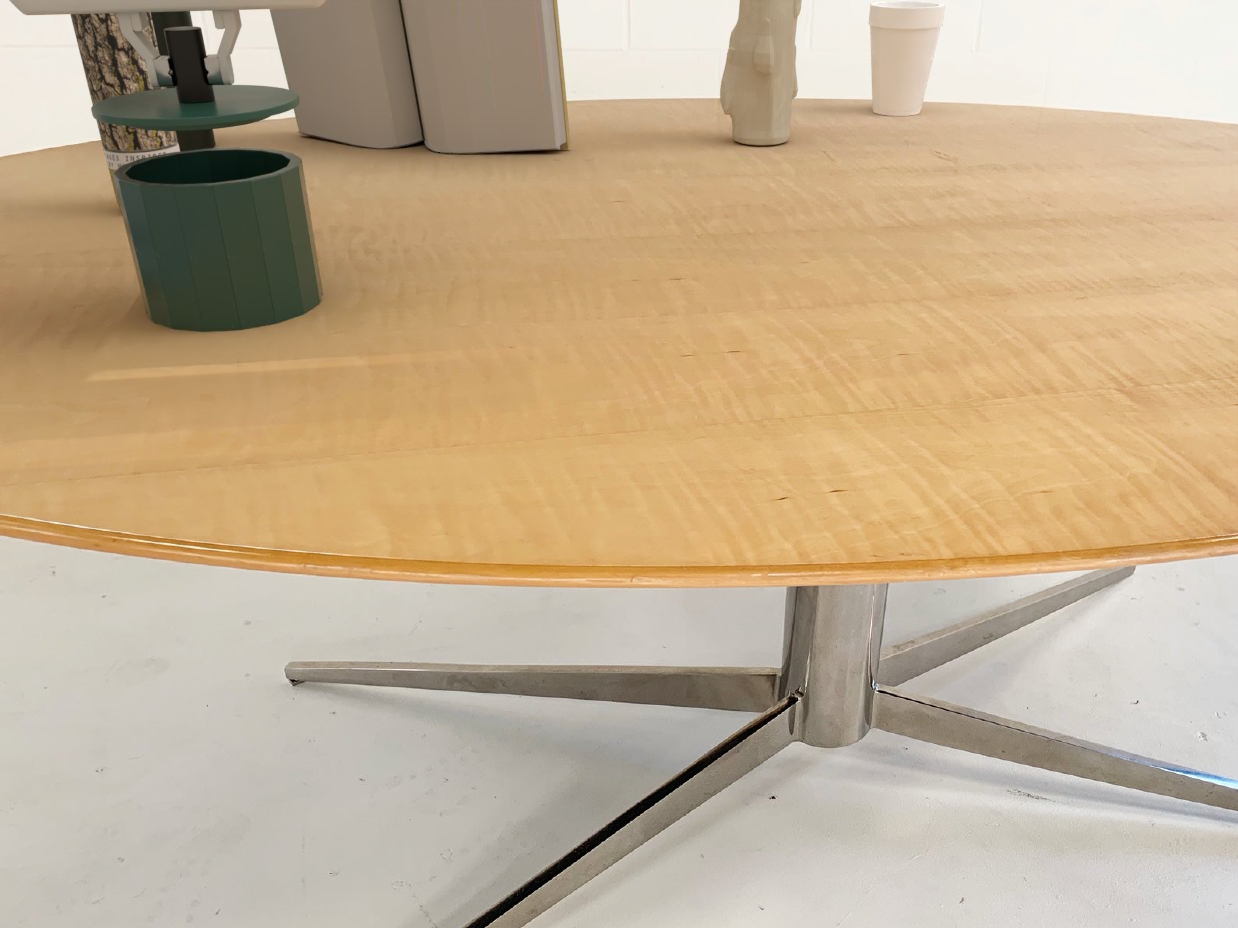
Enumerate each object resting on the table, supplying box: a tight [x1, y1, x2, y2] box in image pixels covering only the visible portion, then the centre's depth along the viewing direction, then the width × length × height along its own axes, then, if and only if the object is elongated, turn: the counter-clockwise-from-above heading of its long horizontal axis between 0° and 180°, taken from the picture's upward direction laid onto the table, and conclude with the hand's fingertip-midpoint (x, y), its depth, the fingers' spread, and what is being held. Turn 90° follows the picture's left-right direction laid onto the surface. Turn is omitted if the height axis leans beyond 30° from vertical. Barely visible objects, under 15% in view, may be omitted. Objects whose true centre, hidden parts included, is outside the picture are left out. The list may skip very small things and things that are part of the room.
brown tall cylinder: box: [69, 12, 180, 209], centre depth 107 cm, size 7×7×25 cm
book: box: [269, 0, 572, 155], centre depth 132 cm, size 36×8×24 cm, turn 71°
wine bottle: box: [151, 11, 217, 151], centre depth 131 cm, size 6×6×30 cm
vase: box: [719, 0, 803, 147], centre depth 132 cm, size 9×8×30 cm
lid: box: [90, 25, 299, 131], centre depth 78 cm, size 14×14×6 cm
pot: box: [113, 146, 324, 333], centre depth 84 cm, size 13×13×10 cm
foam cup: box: [868, 0, 946, 117], centre depth 152 cm, size 10×9×13 cm
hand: (193, 85), depth 79 cm, fingers closed on lid, 2 cm apart
